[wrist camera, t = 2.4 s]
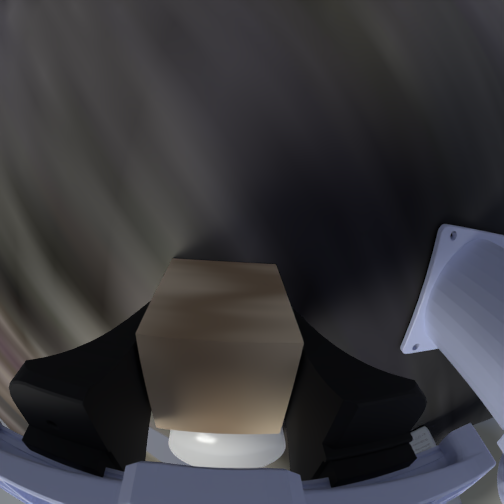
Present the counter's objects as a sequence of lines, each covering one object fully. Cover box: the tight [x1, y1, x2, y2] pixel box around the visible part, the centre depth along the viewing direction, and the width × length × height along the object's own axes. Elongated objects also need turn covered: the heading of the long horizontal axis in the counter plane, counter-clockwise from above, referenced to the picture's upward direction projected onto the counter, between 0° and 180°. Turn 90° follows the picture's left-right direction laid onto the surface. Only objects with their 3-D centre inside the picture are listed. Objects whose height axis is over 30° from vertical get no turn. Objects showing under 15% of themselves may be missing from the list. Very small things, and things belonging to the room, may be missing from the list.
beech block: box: [135, 258, 304, 434], centre depth 10 cm, size 4×4×6 cm
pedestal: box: [169, 427, 286, 468], centre depth 15 cm, size 7×7×2 cm
